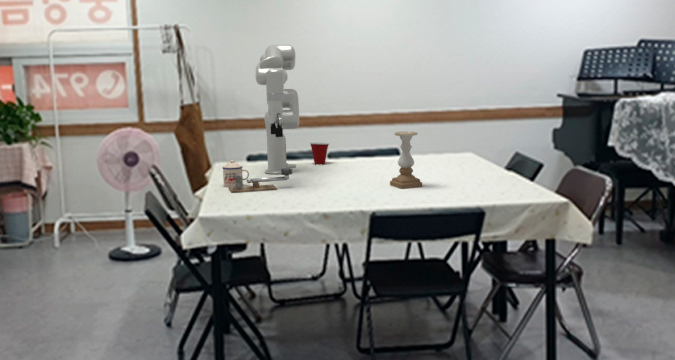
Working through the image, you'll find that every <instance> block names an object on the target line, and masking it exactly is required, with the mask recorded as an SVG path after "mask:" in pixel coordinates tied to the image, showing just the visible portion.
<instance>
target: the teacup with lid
mask: <svg viewBox="0 0 675 360" xmlns="http://www.w3.org/2000/svg"><path fill="white" fill-rule="evenodd" d="M243 172H246V173H247V176H246V177H245V178H243V181H247V179H248V178H249V177H250V171H249V170H247V169H243V165H242V164H239V163H237V162H235V160H233V159H231V160H229V162H228V163H227V164H224V165H222V174H223V175H222V176H223V186H224V187H226V188H229V187H235V174H241V175H242V176H243Z"/></svg>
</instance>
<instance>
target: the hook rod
mask: <svg viewBox="0 0 675 360" xmlns="http://www.w3.org/2000/svg"><path fill="white" fill-rule="evenodd" d="M280 175H284V176H272V177H271V176H270V177H257V178H249V177H248V179H246V183H247V184H253V183H255V182H258V183H267V182H268V183H269V182H280V181H288V180H289V179H290V175H293V168H283V169H281V174H280Z"/></svg>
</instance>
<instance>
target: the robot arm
mask: <svg viewBox="0 0 675 360" xmlns="http://www.w3.org/2000/svg"><path fill="white" fill-rule="evenodd" d="M264 51H265V52H264V54H261V56H260V57H259V62H258V63H257V64H256V66H255V81H256V83H257V84H258V85H260V86H265V87H266V91H265V92H266V104H267V107H268V109H267V110H268V111H266V112H265V114H264V124H265V130H266V141H267V142H266V146H267V147H266V149H267V169H265V170H264V173H265V174H268V175H282V174H281V169H283V168H291V169H296V168H297V165H296V164H295V163H293V164H290V163H288V162H287V138H286V135H284V130H293V129H298V128H299V126H300V103H299V94H298V91H297V90H296V89H294V88H284V86H285V85H284V84H286V83H287V81H288V72H287V71H291V70H294V69H295V66H296V57H297V56H296V51H295V48H294V46H292V45H291V44H271V45H269V46H267V47H266V49H265V50H264ZM287 108H288V109H287Z"/></svg>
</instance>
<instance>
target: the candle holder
mask: <svg viewBox="0 0 675 360" xmlns="http://www.w3.org/2000/svg"><path fill="white" fill-rule="evenodd" d="M418 134H419V133H418V132H417V131H396V132H394V136H397V137H399V138H400V140H401V145H400V146H399V147H400V149H401V155H400V156H399V157H398V161H397V165H398V166H399V167H400V168H399V170H398V172H399V173H400V174H399V175H397V176H396V177H395V176H394V177H392V179H391V180H389V185H390V186H392V187H394V188H397V189H404V190H405V189H411V188H412V189H414V188H422V187H423V182H422V181H421V179H420V178H418V177H416V176H415V175H414V174H412V173H413V172H414V170H413V168H412V167H413V166H414V165H415V160H414V158H413V157H412V155H411V153H410V152H411V150H412V148H413V147H412V145H411V140H413V137H414V136H418Z"/></svg>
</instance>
